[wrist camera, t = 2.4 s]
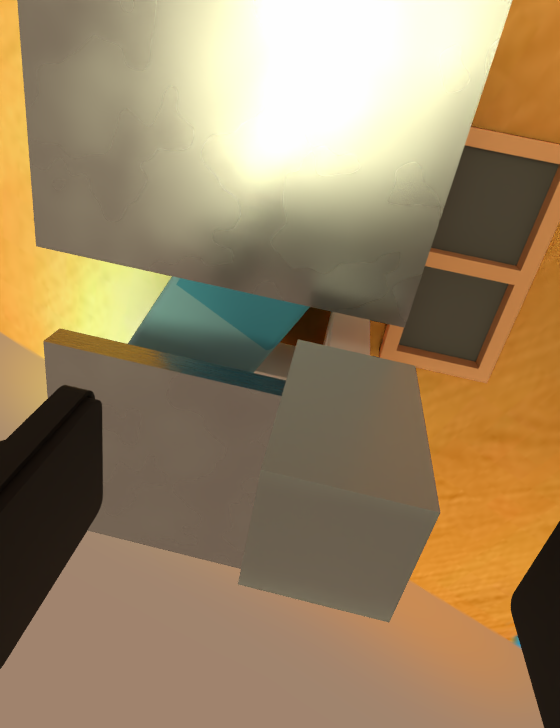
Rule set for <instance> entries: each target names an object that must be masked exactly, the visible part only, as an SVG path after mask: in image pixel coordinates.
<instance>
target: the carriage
mask: <svg viewBox="0 0 560 728" xmlns="http://www.w3.org/2000/svg"><path fill="white" fill-rule="evenodd" d="M254 373H256V374H260V375H265V376H269V377H273V378H278V379H282V380H286V383H285V387H284V390H283V394H282V397H281V401H280V404H279V408H278V411H277V415H276V418H275V422H274V425H273V429H272V433H271V436H270V440H269V443H268V447H267V450H266V454H265V457H264V461H263V464H262V468H261V472H260V477H259V482H258V487H257V492H256V497H255V502H254V507H253V512H252V517H251V522H250V527H249V532H248V537H247V542H246V547H245V552H244V557H243V562H242V567H241V572H240V577H239V582H238V584H239V585H244V586H247V587H251V588H255V589H259V590H263V591H267V592H271V593H275V594H279V595H283V596H287V597H291V598H295V599H299V600H303V601H307V602H310V603H315V604H318V605H322V606H326V607H330V608H334V609H338V610H342V611H346V612H350V613H354V614H358V615H362V616H366V617H370V618H374V619H378V620H382V621H386V622H389V621H390V619H391V617H392V615H393V613H394V611H395V609H396V607H397V604H398V602H399V600H400V598H401V596H402V594H403V592H404V589H405V587H406V585H407V583H408V581H409V579H410V576H411V574H412V572H413V570H414V568H415V566H416V564H417V561H418V559H419V557H420V555H421V553H422V551H423V549H424V546H425V544H426V542H427V540H428V538H429V536H430V534H431V531H432V529H433V527H434V525H435V523H436V521H437V519H438V516H439V514H440V508H439V503H438V497H437V491H436V485H435V479H434V473H433V467H432V461H431V456H430V450H429V444H428V438H427V432H426V426H425V420H424V415H423V409H422V403H421V397H420V391H419V385H418V379H417V373H416V368H415V366H414V365H410V364H405V363H401V362H396V361H392V360H387V359H383V358H378V357H374V356H370V320H367V319H363V318H358V317H354V316H349V315H345V314H340V313H336V312H331V314H330V318H329V322H328V326H327V330H326V335H325V339H324V343H323V345H321V344H316V343H312V342H307V341H303V340H298V341H297V344H296V346H293V345H289V344H284V343H279V344H278V345H277V346H276V347H275V348H274V350H273V351H272V352H271V353H270V354H269V355H268V356H267V358H266V359H265V360H264V361H263V362H262V363H261V365H260V366H259V367H258V368H257V369H256V370H255V372H254Z"/></svg>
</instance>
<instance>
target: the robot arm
mask: <svg viewBox="0 0 560 728" xmlns="http://www.w3.org/2000/svg"><path fill="white" fill-rule="evenodd" d="M102 500H103V437H102V403H101V401H100V400H97V399H95V395H94V393H93V392H92V391H90V390H86V389H82V388H77V387H73V386H68V385H62V386H61V387H59V388H58V389H57V390H56V391H55V392H54V393H53V394H52V395H51V396H50V397H49V398H48V399H47V400H46V401H45V402H44V403H43V404H42V405H41V406H40V407H39V408H38V409H37V410H36V411H35V412H34V413H33V414H32V415H30V416H29V418H28V419H26V420H25V422H23V423H22V425H20V426H19V427H18V428H17V429H16V430H15V431H14V432H13V433H12V434H11V435H10V436H9V437H8V438H7V439H6V440H3V441H0V669H1V667H2V666H3V665H4V663H5V661H6V660H7V658H8V657H9V655H10V654H11V652H12V650H13V649H14V647H15V646H16V644H17V642H18V641H19V639H20V638H21V636H22V634H23V632H24V631H25V630H26V628H27V626H28V625H29V623H30V622H31V620H32V618H33V617H34V615H35V614H36V612H37V610H38V608H39V607H40V605H41V604H42V602H43V601H44V599H45V598H46V596H47V594H48V592H49V591H50V590H51V588H52V586H53V585H54V583H55V581H56V580H57V578H58V577H59V575H60V573H61V572H62V570H63V569H64V567H65V565H66V564H67V562H68V561H69V559H70V557H71V556H72V554H73V553H74V551H75V549H76V548H77V546H78V544H79V543H80V541H81V540H82V538H83V537H84V535H85V533H86V532H87V530H88V529H89V527H90V525H91V524H92V522H93V521H94V519H95V517H96V516H97V514H98V512H99V510H100V508H101V504H102ZM511 613H512V617H513V620H514V624H515V627H516V631H517V634H518V638H519V641H520V645H521V648H522V652H523V655H524V658H525V662H526V665H527V669H528V673H529V676H530V679H531V683H532V686H533V690H534V693H535V697H536V700H537V704H538V707H539V711H540V714H541V718H542V721H543V725H544V728H560V521H559V523H558V524H557V526H556V528H555V529H554V531H553V532H552V534H551V535H550V537H549V539H548V540H547V542H546V543H545V545H544V546H543V548H542V549H541V551H540V553H539V554H538V556H537V557H536V559H535V560H534V562H533V564H532V565H531V567H530V568H529V570H528V571H527V573H526V574H525V576H524V578H523V579H522V581H521V582H520V584H519V585H518V587H517V589H516V590H515V592H514V593H513V596H512V599H511Z"/></svg>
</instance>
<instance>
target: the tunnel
mask: <svg viewBox="0 0 560 728" xmlns="http://www.w3.org/2000/svg"><path fill="white" fill-rule="evenodd" d="M17 1H18V14H19V27H20V40H21V53H22V66H23V79H24V92H25V105H26V118H27V131H28V145H29V158H30V171H31V184H32V197H33V210H34V223H35V236H36V246H38V247H42V248H47V249H51V250H56V251H60V252H65V253H69V254H74V255H78V256H83V257H87V258H92V259H96V260H101V261H105V262H110V263H115V264H119V265H124V266H128V267H133V268H137V269H142V270H146V271H151V272H155V273H160V274H164V275H169V276H173V277H178V278H182V279H187V280H191V281H196V282H200V283H205V284H209V285H214V286H218V287H223V288H227V289H232V290H236V291H241V292H246V293H250V294H255V295H259V296H264V297H268V298H273V299H277V300H282V301H286V302H291V303H295V304H300V305H304V306H309V307H313V308H318V309H322V310H327V311H331V312H336V313H340V314H345V315H349V316H354V317H358V318H363V319H367V320H372V321H376V322H381V323H386V324H390V325H395V326H399V327H404V328H405V325H406V322H407V319H408V316H409V313H410V310H411V307H412V304H413V301H414V298H415V295H416V292H417V288H418V285H419V282H420V279H421V276H422V273H423V270H424V267H425V264H426V261H427V258H428V255H429V252H430V249H431V246H432V243H433V240H434V237H435V234H436V231H437V228H438V225H439V222H440V219H441V216H442V213H443V210H444V206H445V203H446V200H447V197H448V194H449V191H450V188H451V185H452V182H453V179H454V176H455V173H456V170H457V167H458V164H459V161H460V158H461V155H462V152H463V149H464V146H465V143H466V140H467V137H468V134H469V131H470V128H471V124H472V121H473V118H474V115H475V112H476V109H477V106H478V103H479V100H480V97H481V94H482V91H483V88H484V85H485V82H486V79H487V76H488V73H489V70H490V67H491V64H492V61H493V58H494V55H495V52H496V49H497V46H498V42H499V39H500V36H501V33H502V30H503V27H504V24H505V21H506V18H507V15H508V12H509V9H510V6H511V3H512V0H17ZM44 354H45V367H46V379H47V393H48V398H49V397H50V396H51V395H52V394H53V393H54V392H55V391H56V390H57V389H58V388H59V387H61V386H62V385H68V386H73V387H77V388H82V389H86V390H90V391H92V392H93V393H94V395H95V399H97V400H100V401H101V403H102V437H103V500H102V504H101V508H100V510H99V512H98V514H97V516H96V517H95V519H94V521H93V522H92V524H91V525H90V527H89V529H88V531H92V532H96V533H100V534H104V535H108V536H112V537H116V538H120V539H124V540H128V541H132V542H136V543H140V544H144V545H148V546H152V547H156V548H160V549H164V550H168V551H172V552H176V553H180V554H184V555H188V556H192V557H196V558H200V559H204V560H208V561H212V562H216V563H220V564H224V565H228V566H232V567H236V568H240V569H241V567H242V562H243V557H244V552H245V547H246V542H247V537H248V532H249V527H250V522H251V517H252V512H253V507H254V502H255V497H256V492H257V487H258V482H259V477H260V472H261V468H262V464H263V461H264V457H265V454H266V450H267V447H268V443H269V440H270V436H271V433H272V429H273V425H274V422H275V418H276V415H277V411H278V408H279V404H280V401H281V397H282V394H283V390H284V387H285V383H286V380H282V379H278V378H273V377H269V376H265V375H260V374H256V373H252V372H247V371H243V370H238V369H234V368H230V367H225V366H221V365H217V364H212V363H208V362H204V361H199V360H195V359H191V358H186V357H182V356H177V355H173V354H169V353H164V352H160V351H156V350H151V349H147V348H143V347H138V346H134V345H130V344H125V343H121V342H117V341H112V340H108V339H103V338H99V337H95V336H90V335H86V334H82V333H77V332H73V331H69V330H64V329H59V330H57V331H56V332H55V333H53V334H52V335H51V336H50V337H48V338H47V339H46V340H44Z"/></svg>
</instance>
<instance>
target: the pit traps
mask: <svg viewBox="0 0 560 728" xmlns="http://www.w3.org/2000/svg"><path fill="white" fill-rule="evenodd" d="M559 222H560V144H557V143H551V142H546V141H541V140H536V139H531V138H526V137H521V136H516V135H511V134H506V133H501V132H496V131H491V130H486V129H481V128H476V127H471V128H470V131H469V134H468V137H467V140H466V143H465V146H464V149H463V152H462V155H461V158H460V161H459V164H458V167H457V170H456V173H455V176H454V179H453V182H452V185H451V188H450V191H449V194H448V197H447V200H446V203H445V206H444V210H443V213H442V216H441V219H440V222H439V225H438V228H437V231H436V234H435V237H434V240H433V243H432V246H431V249H430V252H429V255H428V258H427V261H426V264H425V267H424V270H423V273H422V276H421V279H420V282H419V285H418V288H417V292H416V295H415V298H414V301H413V304H412V307H411V310H410V313H409V316H408V319H407V322H406V325H405V328H404V327H399V326H395V325H390V324H387V326H386V329H385V333H384V336H383V339H382V342H381V346H380V349H379V358H383V359H387V360H392V361H396V362H401V363H405V364H410V365H414V366H415V367H417V368H421V369H425V370H430V371H434V372H439V373H443V374H448V375H452V376H456V377H461V378H465V379H470V380H474V381H479V382H483V383H487V382H488V380H489V378H490V375H491V373H492V371H493V369H494V366H495V364H496V362H497V360H498V358H499V355H500V353H501V351H502V349H503V346H504V344H505V342H506V340H507V338H508V335H509V333H510V331H511V329H512V326H513V324H514V322H515V320H516V318H517V315H518V313H519V311H520V309H521V306H522V304H523V302H524V300H525V298H526V295H527V293H528V291H529V289H530V286H531V284H532V282H533V280H534V278H535V275H536V273H537V271H538V269H539V266H540V264H541V262H542V260H543V257H544V255H545V253H546V251H547V249H548V246H549V244H550V242H551V240H552V237H553V235H554V233H555V231H556V229H557V226H558V224H559Z"/></svg>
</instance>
